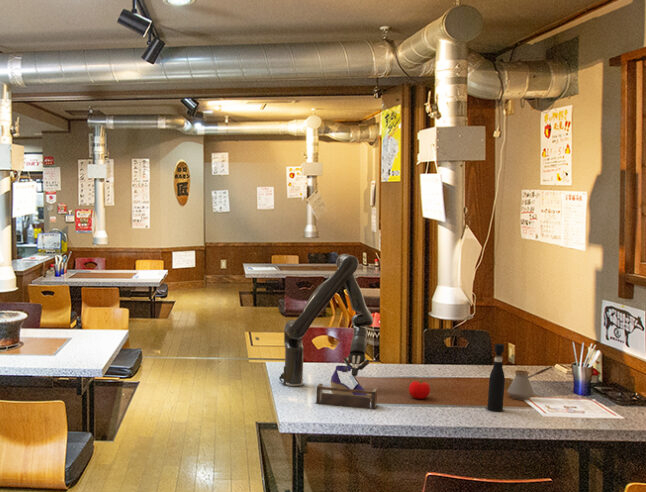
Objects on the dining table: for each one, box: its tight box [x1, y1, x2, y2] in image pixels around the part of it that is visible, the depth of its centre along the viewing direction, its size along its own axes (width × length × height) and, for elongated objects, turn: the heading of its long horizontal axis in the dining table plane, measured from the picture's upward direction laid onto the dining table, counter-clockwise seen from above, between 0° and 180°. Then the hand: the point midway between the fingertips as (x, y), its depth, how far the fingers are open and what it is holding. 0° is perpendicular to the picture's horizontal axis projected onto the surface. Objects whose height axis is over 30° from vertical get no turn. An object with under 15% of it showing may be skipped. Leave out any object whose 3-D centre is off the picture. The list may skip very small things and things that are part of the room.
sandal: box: [330, 364, 372, 398], centre depth 363 cm, size 8×20×15 cm, turn 78°
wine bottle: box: [486, 343, 506, 413], centre depth 338 cm, size 6×6×30 cm
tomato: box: [408, 380, 431, 400], centre depth 360 cm, size 9×10×8 cm
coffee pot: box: [506, 366, 555, 401], centre depth 359 cm, size 21×12×15 cm, turn 97°
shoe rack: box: [315, 383, 378, 410], centre depth 350 cm, size 26×7×8 cm, turn 69°
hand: (354, 375), depth 371 cm, fingers closed
